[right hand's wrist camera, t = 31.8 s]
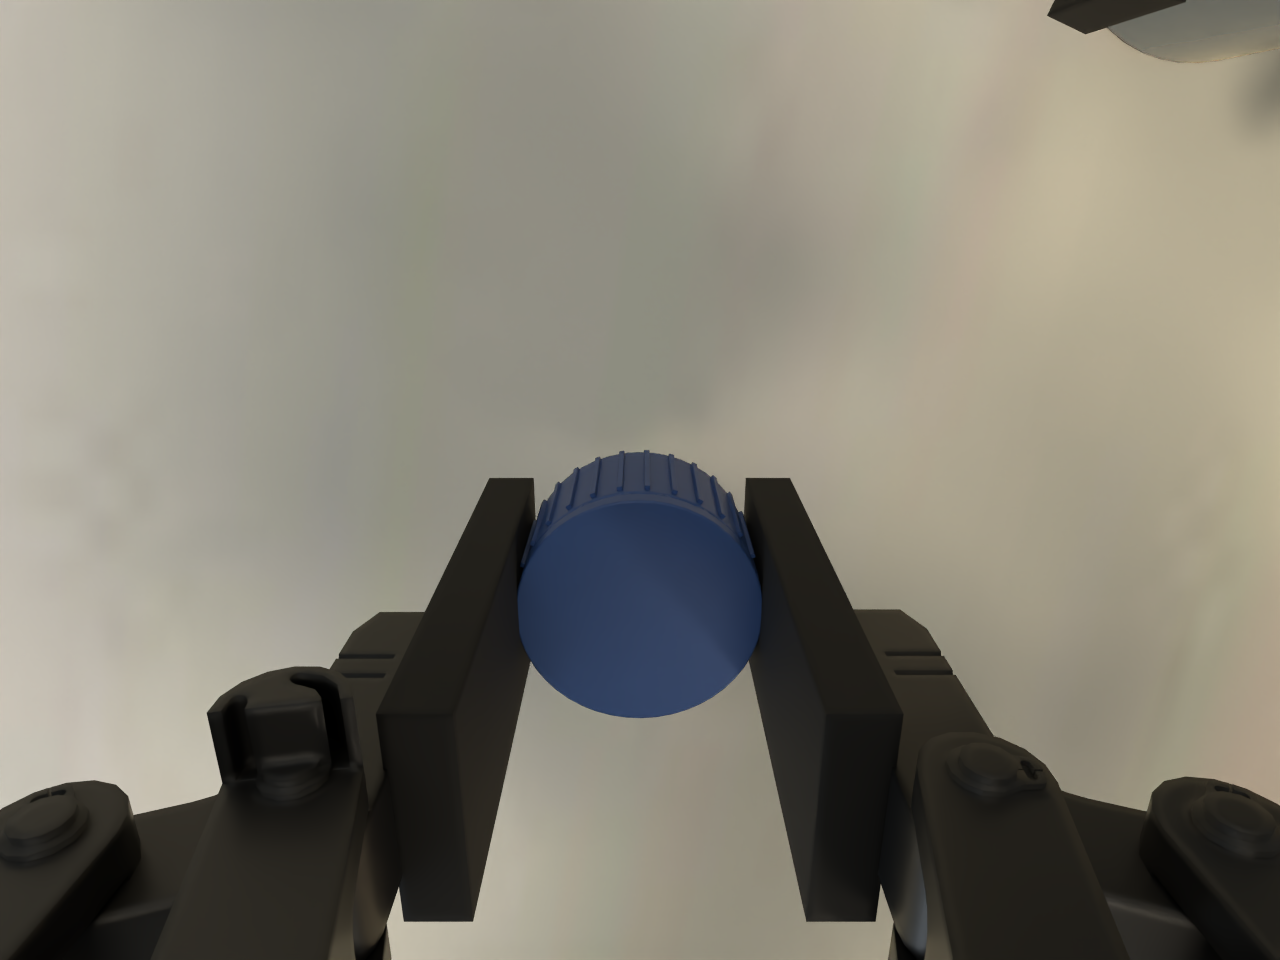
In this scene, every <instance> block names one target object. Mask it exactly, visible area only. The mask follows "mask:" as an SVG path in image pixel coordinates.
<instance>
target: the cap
mask: <svg viewBox="0 0 1280 960" xmlns="http://www.w3.org/2000/svg"><path fill="white" fill-rule="evenodd" d="M755 557H756V556H755V552H754V549H753V546H752V542H751V539H750V535H749V532H748V529H747V525H746V522H745V518H744V515H743V513H742V511H740V512H738V510H737V508H736V506H735V503H734V500H733V496H732V494H731V493H730V492H728V493H726V491H725V490H724V489H723V488H722V487H721V486H720V485H719V484H718V482H717V478H716V477H715V476H714V475H712V477H710V476H709V475H708V474H706V473H705V472H703V471H702V470H700V469H698V468H697V464H695V463H693V462H692V464H689V463H687V462H685V461H682V460H680V459H677V458H674V455H672V454H669V456H667V455H661V454H655V453H649V450H644V453H642V452H635V453H625V452H624V451H620V452H619V454H618V455H613V456H608V457H606V458H603V459H601V458H600V457H597V458H595V461H594V462H592V463H590V464H588V465H586V466H584V467H582V468H581V469H579V468H578V467H577V468H575V469H574V471H573V474H571V475H570V476H569V477H568V478H567V479H566V480H564V481H563V482H562V483H560V482H558V483H557V484H556V485H555V489H554V492H553V493H552V494H551V496H550V497H549V499H548V500H547V501H546V500H543V502H542V504H541V507H540V511H539V514H538V517H537V520H534V521H533V524H532V527H531V531H530V534H529V537H528V540H527V544H526V547H525V550H524V554H523V557H522V560H521V563H520V567H522V568H523V571H522V575H521V578H520V581H519V585H518V589H517V600H518V618H519V633H520V639H521V642H522V645H523V647H524V649H525V651H526V653H527V655H528V657H529V659H530V660H531V662H532V663H533V665H534V667H535V668H536V669H537V671H538V672H539V673H540V674H541V675H542V676H543V678H544V679H545V680H546V681H547V682H548V683H549V684H550V685H552V686H553V687H554V688H555V689H556V690H557V691H559V692H560V693H562V694H563V695H564V696H566V697H567V698H569V699H571V700H572V701H574V702H576V703H578V704H580V705H582V706H584V707H587V708H589V709H592V710H594V711H597V712H601V713H605V714H608V715H613V716H620V717H628V718H650V717H660V716H665V715H671V714H675V713H678V712H681V711H685V710H687V709H690V708H692V707H695V706H697V705H699V704H701V703H703V702H705V701H707V700H708V699H710V698H712V697H713V696H715V695H716V694H717V693H719V692H720V691H722V690H723V689H724V688H725V687H726V686H728V685H729V684H730V683H731V682H732V681H733V680H734V679H735V678H736V677H737V675H738V674H739V673H740V672H741V670H742V669H743V668H744V667H745V665H746V663H747V662H748V660H749V659H750V657H751V655H752V653H753V651H754V649H755V647H756V644H757V642H758V639H759V635H760V626H761V609H762V591H761V585H760V581H759V576H758V573H757V569H756V566H755V562H754V559H753V558H755Z"/></svg>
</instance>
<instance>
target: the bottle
mask: <svg viewBox="0 0 1280 960" xmlns="http://www.w3.org/2000/svg"><path fill="white" fill-rule="evenodd" d="M1108 28H1109V29H1110V30H1111V31H1112V32H1113V33H1114V34H1115V35H1117V36H1118V37H1119V38H1120V39H1122V40H1123V41H1124V42H1125V43H1127V44H1128V45H1130V46H1132V47H1134V48H1136V49H1137V50H1139V51H1141V52H1143V53H1145V54H1148V55H1151V56H1154V57H1156V58H1159V59H1163V60H1169V61H1174V62H1182V63H1203V62H1212V61H1219V60H1225V59H1230V58H1235V57H1240V56H1245V55H1250V54H1255V53H1260V52H1265V51H1270V50H1275V49H1280V0H1186V2H1185V3H1182V4H1179V5H1176V6H1172V7H1169V8H1166V9H1163V10H1160V11H1157V12H1154V13H1150V14H1147V15H1144V16H1141V17H1138V18H1135V19H1132V20H1128V21H1125V22H1122V23H1119V24H1116V25H1113V26H1110V27H1108Z"/></svg>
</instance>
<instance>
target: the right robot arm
mask: <svg viewBox="0 0 1280 960" xmlns="http://www.w3.org/2000/svg"><path fill="white" fill-rule="evenodd" d="M744 518H745V522H746V525H747V529H748V532H749V535H750V539H751V542H752V546H753V549H754V552H755V556H756V557H755V558H753V559H754V562H755V566H756V569H757V573H758V576H759V581H760V585H761V591H762V609H761V626H760V635H759V639H758V642H757V644H756V647H755V649H754V651H753V653H752V655H751V657H750V659H749V663H750V668H751V672H752V677H753V681H754V686H755V691H756V695H757V700H758V704H759V709H760V713H761V718H762V722H763V727H764V731H765V736H766V740H767V745H768V749H769V754H770V759H771V763H772V768H773V772H774V777H775V781H776V786H777V790H778V795H779V799H780V804H781V808H782V813H783V817H784V822H785V827H786V831H787V836H788V840H789V845H790V849H791V854H792V858H793V863H794V867H795V872H796V876H797V881H798V885H799V890H800V895H801V899H802V904H803V908H804V913H805V917H806V922H876V915H877V907H878V900H879V892H880V885H882V888H883V891H884V894H885V897H886V900H887V903H888V906H889V909H890V912H891V915H892V918H893V921H894V923H893V930H892V937H891V944H890V950H889V957H888V960H1280V806H1279V805H1278V804H1276V803H1274V802H1272V801H1270V800H1268V799H1266V798H1264V797H1262V796H1260V795H1258V794H1256V793H1254V792H1252V791H1250V790H1248V789H1245V788H1242V787H1239V786H1236V785H1233V784H1229V783H1226V782H1222V781H1218V780H1215V779H1206V778H1195V777H1182V778H1177V779H1172V780H1167V781H1164V782H1163V783H1162V784H1161V785H1160V786H1159V787H1157V788H1156V789H1155V790H1154V791H1153V792H1152V795H1151V799H1150V802H1149V806H1148V810H1147V812H1146V811H1141V810H1137V809H1132V808H1128V807H1123V806H1119V805H1114V804H1109V803H1105V802H1100V801H1096V800H1091V799H1087V798H1084V797H1080V796H1077V795H1073V794H1070V793H1066V792H1064V791H1061V789H1060V787H1059V785H1058V782H1057V781H1056V779H1055V778H1054V777H1053V775H1052V774H1051V772H1050V771H1049V769H1048V768H1047V767H1046V765H1045V764H1044V763H1042V762H1041V761H1040V760H1038V759H1037V758H1036V757H1035V756H1033V755H1032V754H1031V753H1029V752H1028V751H1027V750H1025V749H1023V748H1021V747H1019V746H1017V745H1015V744H1012V743H1010V742H1008V741H1006V740H1004V739H1001V738H998V737H994V736H993V734H992V733H991V731H990V730H989V728H988V726H987V725H986V723H985V722H984V720H983V718H982V717H981V715H980V714H979V712H978V710H977V709H976V707H975V705H974V704H973V702H972V701H971V699H970V697H969V696H968V694H967V693H966V691H965V689H964V688H963V686H962V685H961V683H960V681H959V680H958V678H957V677H956V675H953V670H952V668H951V667H950V665H949V664H948V662H947V660H946V659H945V657H944V656H941V651H940V649H939V648H938V646H937V644H936V643H935V641H934V640H933V638H932V636H931V635H930V633H929V632H928V630H927V629H926V628H925V627H924V626H922V625H921V624H919V623H918V622H917V621H915V620H914V619H912V618H911V617H910V616H908V615H907V614H905V613H904V612H903V611H901V610H853V608H852V606H851V604H850V602H849V600H848V598H847V595H846V593H845V591H844V589H843V587H842V585H841V583H840V581H839V579H838V577H837V575H836V573H835V571H834V569H833V566H832V564H831V562H830V560H829V558H828V556H827V554H826V552H825V550H824V548H823V546H822V544H821V542H820V540H819V537H818V535H817V533H816V531H815V529H814V527H813V525H812V523H811V521H810V519H809V517H808V515H807V513H806V511H805V508H804V506H803V504H802V502H801V500H800V498H799V496H798V494H797V492H796V490H795V488H794V486H793V484H792V481H791V479H790V478H746V487H745V508H744ZM534 520H536V519H535V498H534V478H489V480H488V482H487V485H486V487H485V489H484V491H483V493H482V495H481V497H480V499H479V501H478V503H477V505H476V507H475V509H474V511H473V513H472V516H471V518H470V520H469V522H468V524H467V526H466V528H465V530H464V532H463V534H462V536H461V538H460V540H459V542H458V545H457V547H456V549H455V551H454V553H453V555H452V557H451V559H450V561H449V563H448V565H447V567H446V569H445V571H444V574H443V576H442V578H441V580H440V582H439V584H438V586H437V588H436V590H435V592H434V594H433V596H432V598H431V600H430V603H429V605H428V607H427V609H426V611H425V612H379V613H378V614H377V615H375V616H374V617H372V618H371V619H370V620H368V621H367V622H366V623H364V624H363V625H361V626H360V627H359V628H357V629H356V630H354V631H353V632H352V634H351V636H350V637H349V639H348V640H347V642H346V644H345V645H344V647H343V648H342V650H341V652H340V653H339V659H336V660H335V661H334V663H333V665H332V666H331V668H330V669H326V668H323V667H290V668H285V669H280V670H275V671H270V672H266V673H264V674H261V675H259V676H256V677H253V678H251V679H248V680H246V681H243V682H241V683H240V684H238V685H237V686H235V687H234V688H232V689H231V690H229V691H228V692H226V693H225V694H223V695H222V696H220V697H219V698H218V700H217V701H216V702H215V703H214V705H213V706H212V707H211V708H210V710H209V711H208V712H207V716H208V721H209V725H210V730H211V734H212V739H213V743H214V748H215V752H216V756H217V761H218V765H219V770H220V774H221V779H222V783H223V784H222V786H221V788H220V791H219V793H218V794H217V795H215V796H212V797H208V798H205V799H201V800H198V801H194V802H191V803H186V804H182V805H177V806H173V807H168V808H164V809H159V810H155V811H150V812H146V813H141V814H137V815H133V812H132V809H131V805H130V801H129V798H128V796H127V795H126V794H125V793H124V792H123V791H122V790H121V789H120V788H119V787H118V786H117V785H114V784H110V783H105V782H100V781H95V780H93V781H82V782H71V783H64V784H61V785H58V786H54V787H51V788H46V789H44V790H41V791H38V792H34V793H32V794H30V795H28V796H26V797H24V798H22V799H20V800H18V801H16V802H14V803H12V804H10V805H8V806H6V807H4V808H2V809H1V810H0V960H391V952H390V944H389V937H388V930H387V920H388V917H389V914H390V911H391V908H392V905H393V902H394V899H395V896H396V893H397V890H398V887H399V889H400V897H401V904H402V911H403V919H404V922H473V919H474V915H475V910H476V906H477V901H478V897H479V892H480V888H481V883H482V878H483V874H484V869H485V865H486V860H487V856H488V851H489V847H490V842H491V838H492V833H493V829H494V824H495V820H496V815H497V811H498V806H499V801H500V797H501V792H502V788H503V783H504V779H505V774H506V770H507V765H508V761H509V756H510V752H511V747H512V743H513V738H514V733H515V729H516V724H517V720H518V715H519V711H520V706H521V702H522V697H523V693H524V688H525V684H526V679H527V675H528V670H529V666H530V661H531V660H530V659H529V657H528V655H527V653H526V651H525V649H524V647H523V645H522V642H521V639H520V633H519V618H518V600H517V589H518V585H519V581H520V578H521V575H522V571H523V568H522V567H520V563H521V560H522V557H523V554H524V550H525V547H526V544H527V540H528V537H529V534H530V531H531V527H532V524H533V521H534Z"/></svg>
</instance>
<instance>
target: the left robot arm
mask: <svg viewBox="0 0 1280 960" xmlns="http://www.w3.org/2000/svg"><path fill="white" fill-rule="evenodd" d="M1185 2H1186V0H1055V1H1054V3H1053V5H1052V7H1051V9H1050V11H1049V13H1048V15H1047V16H1049V17H1051V18H1053V19H1055V20H1057V21H1059V22H1061V23H1063V24H1065V25H1068V26H1070V27H1072V28H1074V29H1076V30H1078V31H1080V32H1082V33H1084V34H1088V33H1091V32H1094V31H1097V30H1100V29H1103V28H1107V27H1110V26H1113V25H1116V24H1119V23H1122V22H1125V21H1128V20H1132V19H1135V18H1138V17H1141V16H1144V15H1147V14H1150V13H1154V12H1157V11H1160V10H1163V9H1166V8H1169V7H1172V6H1176V5H1179V4H1182V3H1185Z"/></svg>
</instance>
